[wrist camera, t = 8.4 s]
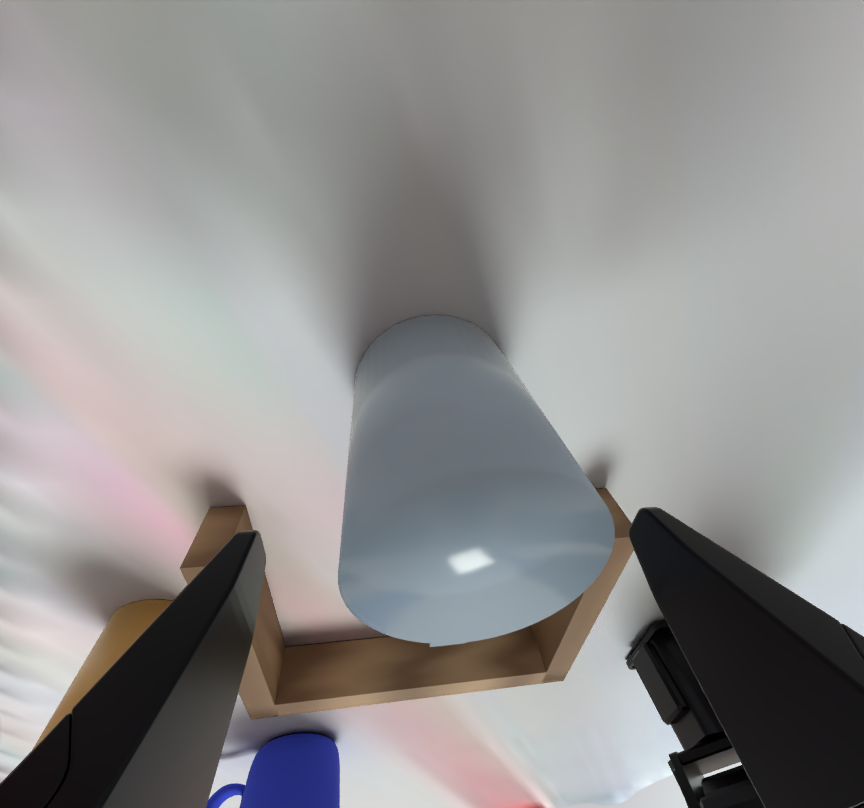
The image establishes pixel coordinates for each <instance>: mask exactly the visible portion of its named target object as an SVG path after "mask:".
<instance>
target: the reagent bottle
mask: <svg viewBox="0 0 864 808" xmlns="http://www.w3.org/2000/svg"><path fill="white" fill-rule="evenodd" d="M171 602H172V601H171V600H156V599H155V600H142V601H137V602H133V603H129V604H127V605H124V606H122V607H120V608H119V609H118V610H116V611H115V612H114V613H113V615H112V616H111V618H110V620H109V621H108V623H107V625H106V626H105V628H104V630H103V632H102V633H101V635H100V637H99V638H98V640H97V642H96V643H95V645H94V647H93V648H92V650H91V652H90V654H89V655H88V657H87V659H86V660H85V662H84V664H83V665H82V667H81V669H80V670H79V672H78V674H77V676H76V677H75V679H74V681H73V682H72V684H71V686H70V687H69V689H68V691H67V692H66V694H65V696H64V697H63V699H62V701H61V703H60V704H59V706H58V708H57V709H56V711H55V713H54V714H53V716H52V718H51V719H50V721H49V723H48V725H47V726H46V728H45V730H44V731H43V733H42V735H41V736H40V738H39V740H38V741H37V743H36V745H35V747H36V746H37V745H38V744H39V743H40V742H41V741H42V740H43V739H44V738H45V737H46V736H47V735H48V733H49V732H50V731H51V730H52V729H53V728H54V727H55V726H56V725H57V724H58V723H59V722H60V721H61V720H62V719H63V717H64V716H65V715H66V714H69V713H71V711H72V708H73V707H74V706H75V705H76V704H77V703H78V702H79V701H80V700H81V698H82V697H83V696H84V695H85V694H86V693H87V692H88V691H89V690H90V689H91V688H92V687H93V686H94V685H95V683H96V682H97V681H98V680H99V679H100V678H101V677H102V676H103V675H104V674H105V673H106V672H107V671H108V670H109V669H110V667H111V666H112V665H113V664H114V663H115V662H116V661H117V660H118V659H119V658H120V657H121V656H122V655H123V654H124V652H125V651H126V650H127V649H128V648H129V647H130V646H131V645H132V644H133V643H134V642H135V641H136V640H137V639H138V638H139V636H140V635H141V634H142V633H143V632H144V631H145V630H146V629H147V628H148V627H149V626H150V625H151V624H152V623H153V621H154V620H155V619H156V618H157V617H158V616H159V615H160V614H161V613H162V612H163V611H164V610H165V609H166V608H167V607H168V605H169V604H170V603H171ZM35 747H34V748H35ZM34 748H33V749H34Z"/></svg>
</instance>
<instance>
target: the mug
mask: <svg viewBox="0 0 864 808" xmlns="http://www.w3.org/2000/svg"><path fill="white" fill-rule="evenodd" d="M234 795H241V796H242V800H241V804H240V808H339V799H340V764H339V754H338V749H337V746H336V744H335V743H334V741H332V740H331V739H330V738H328V737H326V736H323V735H319V734H311V733H300V734H292V735H286V736H283V737H279V738H277V739H274V740H272V741H270V742H268V743H267V744H265V745H264V746H263V747H262V748H261V749H260V750H259V751H258V753H257V754H256V756H255V758H254V760H253V763H252V765H251V768H250V771H249V775H248V778H247V782H246V786H245V785H243V784H237V783H236V784H228V785H226V786H223V787H222V788H220V789H219V790H218V791H216V792H215V793H214V794H213V795H212V796H211V798H210V799H209V800H208V802H207V806H206V808H219V807H220V805H221V804H222V803H223V802H224V801H225V800H226V799H228V798H230V797H232V796H234Z"/></svg>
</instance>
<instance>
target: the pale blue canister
mask: <svg viewBox="0 0 864 808" xmlns="http://www.w3.org/2000/svg"><path fill="white" fill-rule="evenodd" d="M614 540H615V528H614V523H613V518H612V516H611V513H610V511H609V509H608V507H607V506H606V504H605V503H604V501H603V500H602V498H601V497H600V495H599V494H598V492H597V491H596V489H595V488H594V487H593V485H592V484H591V482H590V481H589V479H588V478H587V476H586V475H585V473H584V472H583V470H582V469H581V468H580V466H579V465H578V463H577V462H576V460H575V459H574V457H573V456H572V454H571V453H570V451H569V450H568V449H567V447H566V446H565V444H564V443H563V441H562V440H561V438H560V437H559V435H558V434H557V432H556V431H555V430H554V428H553V427H552V425H551V424H550V422H549V421H548V419H547V418H546V416H545V415H544V413H543V412H542V411H541V409H540V408H539V406H538V405H537V403H536V402H535V400H534V399H533V397H532V396H531V394H530V393H529V392H528V390H527V389H526V387H525V386H524V384H523V383H522V381H521V380H520V378H519V377H518V376H517V374H516V373H515V371H514V370H513V368H512V367H511V365H510V364H509V362H508V361H507V359H506V358H505V357H504V355H503V354H502V352H501V351H500V349H499V348H498V346H497V345H496V344H495V342H494V341H493V339H492V338H491V337H490V336H489V335H488V334H487V333H486V332H485V331H483V330H482V329H480V328H479V327H478V326H476V325H474V324H472V323H470V322H469V321H466V320H463V319H460V318H457V317H452V316H447V315H425V316H419V317H414V318H411V319H408V320H405V321H403V322H400V323H398V324H396V325H394V326H392V327H391V328H389V329H388V330H386V331H385V332H383V333H382V334H381V335H380V336H378V337H377V338H376V339H375V340H374V342H373V343H372V344H371V345H370V346H369V347H368V349H367V350H366V352H365V353H364V355H363V357H362V359H361V361H360V363H359V366H358V369H357V373H356V378H355V388H354V399H353V410H352V422H351V433H350V445H349V456H348V467H347V479H346V490H345V502H344V513H343V524H342V536H341V547H340V559H339V570H338V585H339V589H340V593H341V596H342V598H343V600H344V602H345V604H346V606H347V607H348V608H349V610H350V611H351V612H352V614H353V615H355V616H356V617H357V618H358V619H359V620H360V621H361V622H363V623H364V624H366V625H367V626H369V627H370V628H372V629H374V630H376V631H378V632H381V633H383V634H386V635H389V636H391V637H394V638H398V639H403V640H407V641H413V642H420V643H429V645H430V647H436V646H446V645H455V644H464V643H466V642H471V641H478V640H484V639H488V638H493V637H497V636H501V635H504V634H508V633H511V632H514V631H517V630H520V629H523V628H525V627H528V626H530V625H532V624H535V623H537V622H539V621H541V620H543V619H545V618H547V617H549V616H551V615H552V614H554V613H556V612H558V611H559V610H561V609H563V608H564V607H565V606H567V605H568V604H570V603H571V602H572V601H574V600H575V599H576V598H577V597H579V596H580V595H581V594H582V593H583V592H585V590H586V589H587V588H588V587H589V586H590V585H591V584H592V583H593V582H594V581H595V580H596V578H597V577H598V576H599V575H600V573H601V572H602V570H603V569H604V567H605V565H606V564H607V562H608V560H609V557H610V555H611V552H612V549H613V545H614Z"/></svg>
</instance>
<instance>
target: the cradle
mask: <svg viewBox="0 0 864 808" xmlns="http://www.w3.org/2000/svg"><path fill="white" fill-rule="evenodd" d="M596 491H597V492H598V494H599V495H600V497H601V498H602V500H603V501H604V503H605V504H606V506H607V507H608V509H609V511H610V513H611V516H612V518H613V523H614V528H615V540H614V545H613V549H612V552H611V555H610V557H609V560H608V562H607V564H606V565H605V567H604V569H603V570H602V572H601V573H600V575H599V576H598V577H597V578H596V580H595V581H594V582H593V583H592V584H591V585H590V586H589V587H588V588H587V589H586V590H585V592H583V593H582V594H581V595H580V596H579V597H577V598H576V599H575V600H574V601H572V602H571V603H570V604H568V605H567V606H565V607H564V608H563V609H561V610H559V611H558V612H556V613H554V614H552V615H551V616H549V617H547V618H545V619H543V620H541V621H539V622H537V623H535V624H532V625H530V626H528V627H525V628H523V629H520V630H517V631H514V632H511V633H508V634H504V635H501V636H497V637H493V638H488V639H484V640H478V641H471V642H466V643H464V644H455V645H446V646H436V647H430V645H429V643H420V642H413V641H407V640H403V639H398V638H394V637H382V638H372V639H362V640H352V641H342V642H332V643H322V644H312V645H302V646H292V647H285V644H284V640H283V636H282V633H281V629H280V626H279V622H278V619H277V615H276V612H275V608H274V605H273V601H272V597H271V594H270V590H269V587H268V583H267V580H266V576H265V573H264V577H263V583H262V589H261V595H260V601H259V607H258V613H257V619H256V625H255V630H254V635H253V640H252V644H251V648H250V652H249V656H248V659H247V663H246V666H245V670H244V673H243V677H242V681H241V684H240V688H239V691H238V693H239V695H240V697H241V699H242V701H243V703H244V705H245V707H246V710H247V712H248V714H249V716H250V718H251V720H252V719H260V718H268V717H276V716H284V715H292V714H300V713H308V712H316V711H324V710H332V709H340V708H348V707H356V706H364V705H372V704H380V703H388V702H396V701H404V700H412V699H420V698H428V697H436V696H444V695H452V694H460V693H468V692H476V691H484V690H492V689H500V688H508V687H516V686H524V685H532V684H541V683H549V682H557V681H564V679H565V677H566V675H567V673H568V671H569V669H570V668H571V666H572V664H573V662H574V660H575V658H576V656H577V654H578V653H579V651H580V649H581V647H582V645H583V643H584V641H585V640H586V638H587V636H588V634H589V632H590V630H591V628H592V627H593V625H594V623H595V621H596V619H597V617H598V615H599V613H600V612H601V610H602V608H603V606H604V604H605V602H606V600H607V599H608V597H609V595H610V593H611V591H612V589H613V587H614V586H615V584H616V582H617V580H618V578H619V576H620V574H621V572H622V571H623V569H624V567H625V565H626V563H627V561H628V559H629V558H630V556H631V554H632V552H633V550H634V548H633V546H632V543H631V541H630V538H629V529H630V527H631V525H632V523H631V522H630V521H629V519H628V518H627V516H626V515H625V514H624V512H623V511H622V510H621V508H620V507H619V505H618V504H617V503H616V501H615V500H614V498H613V497H612V496H611V494H610V493H609V492H608V490H607V489H606V488H601V489H596ZM251 530H252V527H251V523H250V519H249V516H248V512H247V509H246V506H232V507H211V508H209V510H208V512H207V514H206V516H205V518H204V520H203V522H202V524H201V526H200V529H199V531H198V533H197V535H196V537H195V539H194V541H193V543H192V545H191V547H190V549H189V551H188V553H187V555H186V557H185V559H184V561H183V563H182V565H181V567H180V569H181V572H182V574H183V576H184V578H185V580H186V582H187V584H189V583H190V582H191V581H192V580H193V579H194V578H195V577H196V576H197V574H198V573H199V572H200V571H201V570H202V569H203V568H204V567H205V566H206V565H207V564H208V563H209V562H210V561H211V559H212V558H213V557H214V556H215V555H216V554H217V553H218V552H219V551H220V550H221V549H222V548H223V547H224V546H225V544H226V543H227V542H228V541H229V540H230V539H231V538H232V537H233V536H234V535H235V534H236V533H238V532H240V531H251Z"/></svg>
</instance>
